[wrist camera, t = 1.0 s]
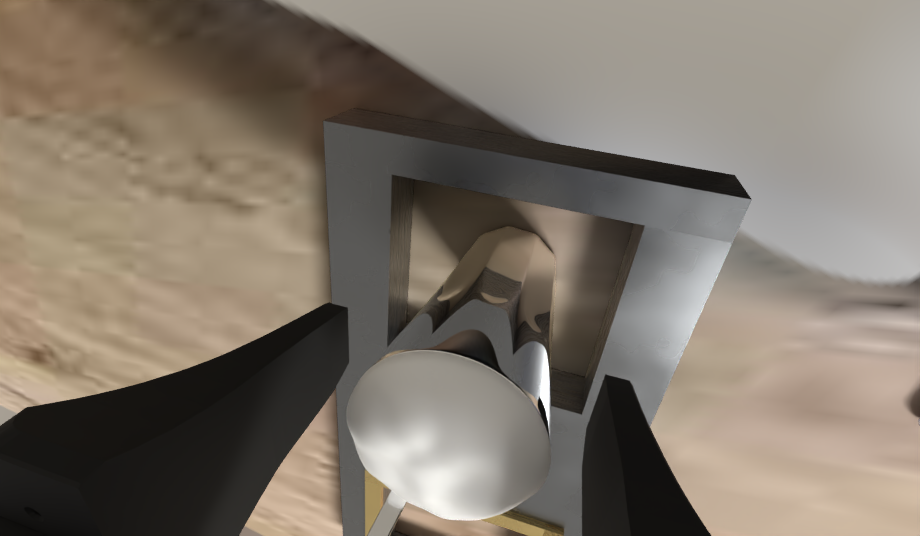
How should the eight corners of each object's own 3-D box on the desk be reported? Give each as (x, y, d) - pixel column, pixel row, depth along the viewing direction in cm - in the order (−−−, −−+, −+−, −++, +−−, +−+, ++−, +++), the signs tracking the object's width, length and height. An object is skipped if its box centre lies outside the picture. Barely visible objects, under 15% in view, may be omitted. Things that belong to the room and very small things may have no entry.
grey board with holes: (734, 175, 14) (754, 203, 12) (553, 610, 27) (548, 656, 25) (354, 108, 16) (317, 122, 14) (360, 540, 29) (342, 578, 27)
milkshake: (422, 290, 19) (266, 524, 10) (490, 182, 16) (350, 386, 7) (518, 351, 19) (442, 631, 10) (604, 256, 16) (591, 538, 8)
